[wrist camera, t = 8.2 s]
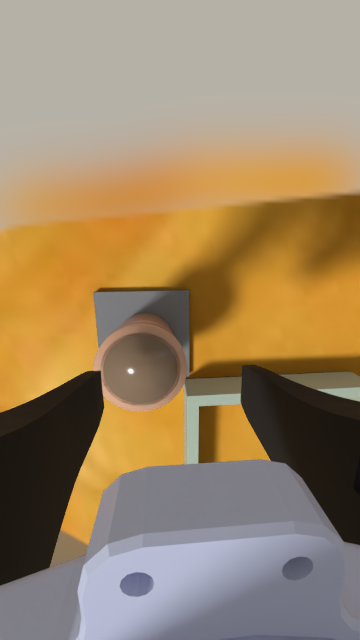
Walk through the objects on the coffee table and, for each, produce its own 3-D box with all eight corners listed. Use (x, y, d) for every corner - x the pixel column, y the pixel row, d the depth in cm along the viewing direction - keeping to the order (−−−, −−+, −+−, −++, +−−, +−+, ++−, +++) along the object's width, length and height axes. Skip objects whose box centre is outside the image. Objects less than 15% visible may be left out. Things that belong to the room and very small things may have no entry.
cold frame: (350, 371, 23) (401, 399, 18) (328, 504, 27) (365, 557, 22) (183, 379, 22) (189, 410, 17) (184, 517, 26) (190, 576, 21)
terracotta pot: (189, 323, 20) (202, 346, 14) (163, 379, 21) (165, 422, 15) (127, 297, 19) (113, 310, 13) (102, 357, 20) (79, 394, 14)
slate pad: (188, 290, 20) (189, 290, 19) (188, 374, 22) (189, 376, 21) (95, 291, 19) (93, 292, 19) (103, 377, 21) (101, 380, 21)
